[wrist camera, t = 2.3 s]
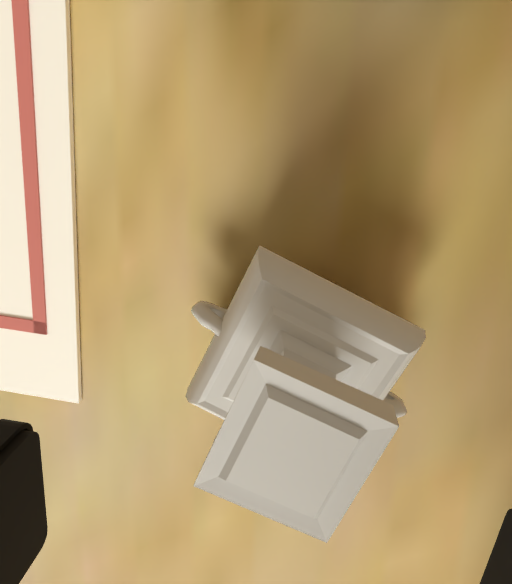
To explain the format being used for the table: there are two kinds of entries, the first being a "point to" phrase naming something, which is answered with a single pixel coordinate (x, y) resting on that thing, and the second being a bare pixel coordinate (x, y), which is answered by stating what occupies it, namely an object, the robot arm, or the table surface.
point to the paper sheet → (38, 203)
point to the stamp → (298, 393)
